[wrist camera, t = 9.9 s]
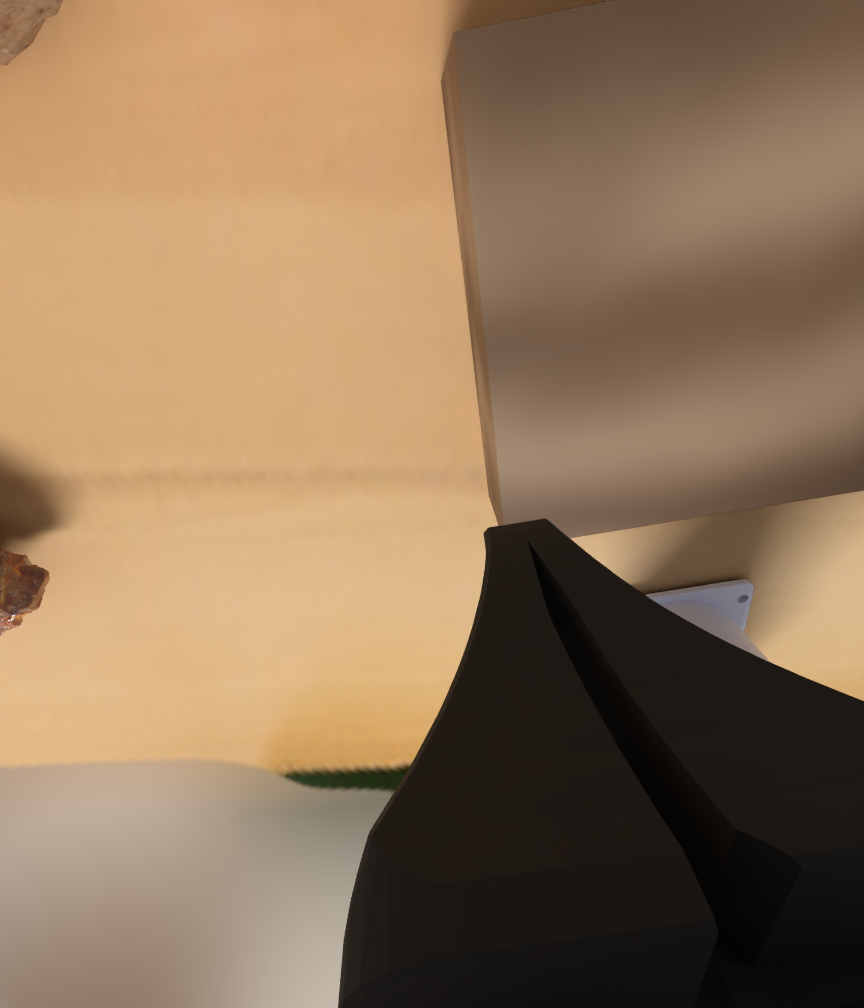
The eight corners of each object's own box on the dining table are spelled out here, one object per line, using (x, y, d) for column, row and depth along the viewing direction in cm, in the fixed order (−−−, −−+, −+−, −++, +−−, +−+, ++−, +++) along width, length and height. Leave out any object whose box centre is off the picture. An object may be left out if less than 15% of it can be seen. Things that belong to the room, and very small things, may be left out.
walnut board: (860, 433, 20) (954, 475, 17) (489, 496, 21) (505, 548, 17) (1005, -30, 13) (1217, -122, 10) (441, 81, 14) (454, 31, 10)
